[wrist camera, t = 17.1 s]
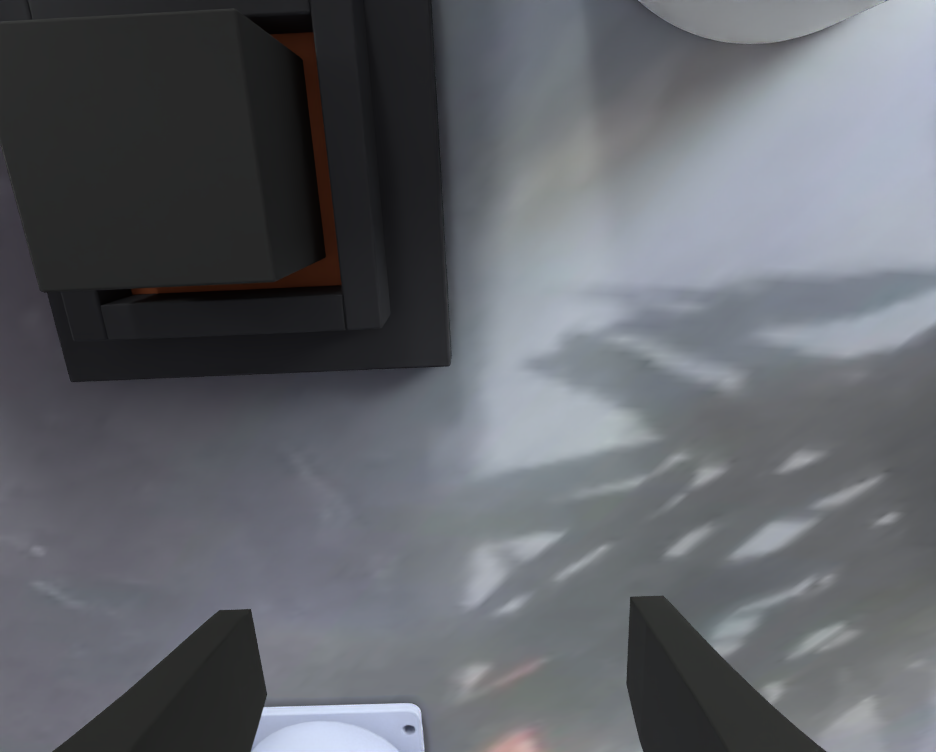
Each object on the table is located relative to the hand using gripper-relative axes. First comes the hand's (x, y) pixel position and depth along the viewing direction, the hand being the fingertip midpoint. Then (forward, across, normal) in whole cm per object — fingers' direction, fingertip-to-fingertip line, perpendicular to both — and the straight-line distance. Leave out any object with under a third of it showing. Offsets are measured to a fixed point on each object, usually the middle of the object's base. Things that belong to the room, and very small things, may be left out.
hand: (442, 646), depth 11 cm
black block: (+8, +6, -9) cm, 14 cm away
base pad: (+9, +6, -9) cm, 14 cm away
